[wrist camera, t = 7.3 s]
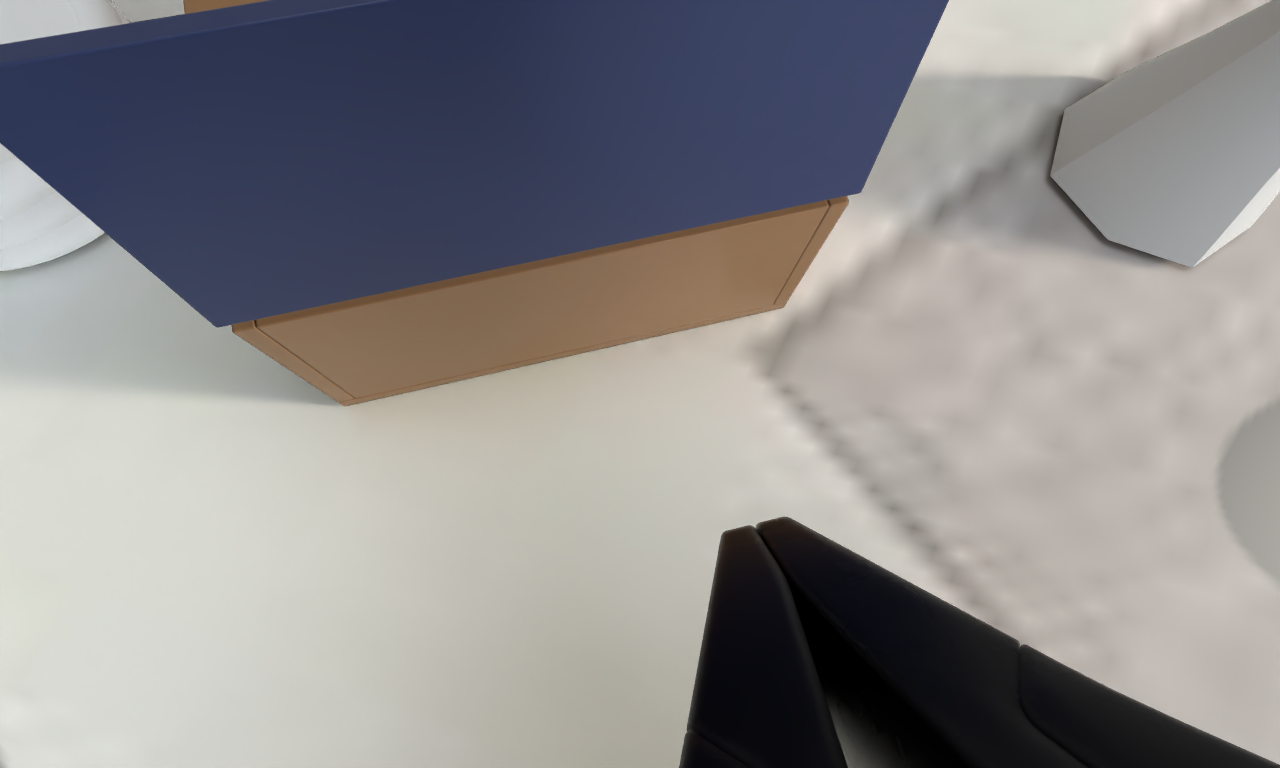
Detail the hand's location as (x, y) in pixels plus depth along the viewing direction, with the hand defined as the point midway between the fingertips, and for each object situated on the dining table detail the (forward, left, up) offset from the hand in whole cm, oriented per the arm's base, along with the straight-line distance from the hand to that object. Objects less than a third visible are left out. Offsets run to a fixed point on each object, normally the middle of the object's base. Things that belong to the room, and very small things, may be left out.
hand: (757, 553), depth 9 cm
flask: (+15, -16, -12) cm, 25 cm away
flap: (+7, +4, -2) cm, 8 cm away
